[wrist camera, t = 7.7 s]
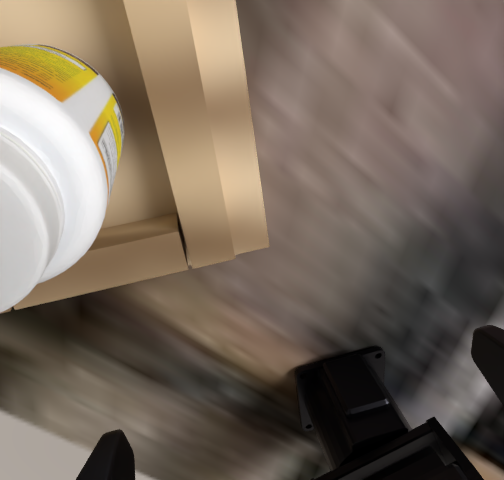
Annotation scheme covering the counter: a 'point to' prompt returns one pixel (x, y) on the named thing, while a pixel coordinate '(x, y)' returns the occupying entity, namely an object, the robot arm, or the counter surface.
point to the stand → (159, 134)
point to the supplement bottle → (52, 163)
